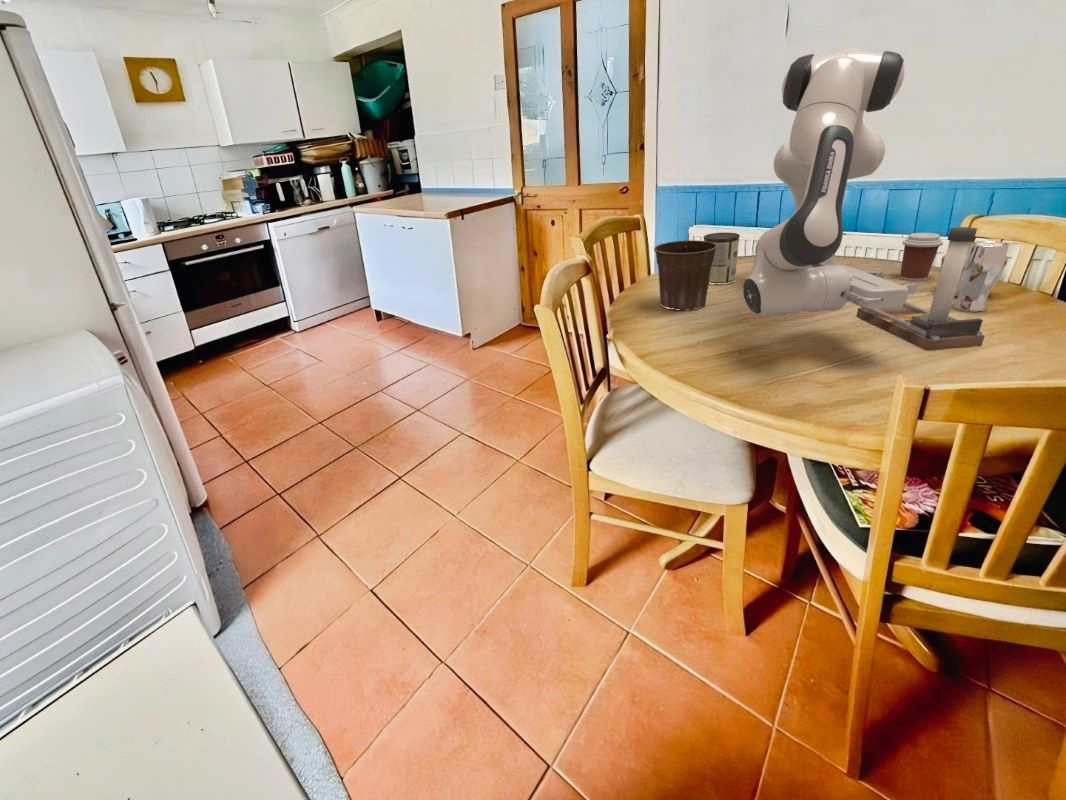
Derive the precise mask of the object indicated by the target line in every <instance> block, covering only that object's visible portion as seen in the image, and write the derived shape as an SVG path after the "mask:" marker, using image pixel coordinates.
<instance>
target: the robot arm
mask: <svg viewBox="0 0 1066 800" xmlns="http://www.w3.org/2000/svg"><path fill="white" fill-rule="evenodd" d="M904 61H905V59H904V58H903V57H902V55H901V54H900V53H897V52H894V51H890V50H889V51H888V50H885V51H884V52H880V51H871V50H864V49H862V48H858V47H850V48H849V47H848V48H845V49H842V50H840V51H838V52H828V53H822V54H814V53H810V54H807V55H803V56H802V55H801V56H800V57H798V58H796V60H794V61H793V62H792V63H791V64H790V67H789V68H788V70H787V72H786V74H785V76H784V79H783V82H782V88H781V95H782V104H783V105H784V106H785V108H786V109H787V110H790V111H793V112H796V113H795V117H794V120H793V123H792V127H791V130H790V137H789V141H787V142H784V143H783V144H782V145H781V146H780V147H779V149H778V150H777V152H776V153H775V155H774V158H773V170H774V171H773V172H775V175H776V177H777V178H778V179H779V180H780V181H781V182H783V183H784V185H786V187H788V189H789V190H790V191H791V194H792V195H793V199H794V204H795V205H794V206H795V212H794V213H793V214H791V216H790V217H789V218H787V219H786V220H784V221H782V222H781V223H779V224H777V225H775V226H773V227H772V228H770V229H768V230H767V231H765V232H764V233H762V235H761V236H760V237H759V239H758V241H757V242H756V245H755V252H754V253H755V258H754V262H753V265H752V269H751V271H750V273H749V275H748V276H747V278H746V279H745V280H744V283H743V286H742V287H743V289H742V290H743V291H742V294H743V299H744V301H745V304H746V306H747V307H748V309H749V310H751V312H753V313H754V314H757V315H762V316H786V315H788V316H789V315H796V314H798V313H800V312H808V313H816V312H817V313H819V312H828V311H829V312H830V311H838V310H840V309H842V308H843V307H844V306H845V305H846V304H847V303H849V302H850V303H851V304H854V305H856V306H858V307H859V308H861V307H863V308H896V307H901V306H903V305H904V304H905V302H906V301H907V299H908V298H907V297H908V295H914V294H916V292H917V290H918V284H916V283H914V282H904V283H903V284H899V283H896V282H894V281H890V280H889V279H886V278H884V277H885V275H886V274H885V273H884V272H881V271H878V270H877V271H865V270H860V269H857V268H855V267H851V266H849V265H845V264H834V258H835V257H834V255H835V254H836V252H838V249H839V248H840V245H841V244H842V241H843V236H844V226H843V214H842V213H843V212H842V210H843V202H844V198H845V197H844V196H845V192H846V187H847V182H848V180H855V179H859V178H863V177H866V176H871V175H872V174H873V173H875V172H876V170H877V169H879V168H880V166H881V164H882V162H883V160H884V158H885V154H886V145H885V143H884V140H883V138H882V137H881V136H880V135H879V134H876V133H874V132H872V131H871V130H869V129H868V128H867V127H866V126H865V124H864V121H863V120H864V119H863V118H864V114H865V112H866V113H871V112H877V111H882V110H884V109H885V108H886V107H887V106H888V105H890V104H891V102H892V101H893V100H894V99H895V97H896V96H897V94H898V93H899V91H900V90H901V87H902V86H903V82H904V79H905V65H904Z"/></svg>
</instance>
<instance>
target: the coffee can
mask: <svg viewBox="0 0 1066 800" xmlns="http://www.w3.org/2000/svg"><path fill="white" fill-rule="evenodd" d="M703 241H708V242H713V243H716V244H717V245H718V247H717V249H716V250H715V255H714V261H713V262H712V265H711V271H710V278H709V282H711V283H728V282H732V281H734V280H735V281H736V273H737V263H738V252H739V241H740V234H738V233H735V232H712V233H708V234H705V235H704V236H703Z"/></svg>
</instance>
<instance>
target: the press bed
mask: <svg viewBox="0 0 1066 800" xmlns="http://www.w3.org/2000/svg"><path fill="white" fill-rule="evenodd" d="M929 312H930V310H927V309H924V308H921V307H918V306H916V305H914V304H911V303H910V302H905V304H904V305H903V306H901V307H896V308H863V307H858V308H857V312H856V317H858V318H860V319H862V320H864V321H866V322H869V323H870V324H872V325H874V326H876V327H879V328H880V329H883V330H884V331H886V332H889V333H891V334H893V335H895V336H897V337H898V338H901V339H903V340H905V341H907V342H909V343H912V344H913V345H916V346H918V347H920V348H921V349H923V350H925V351H933V350H934V351H935V350H944V349H954V347H956V348H964V346H966V347H974V346H973V345H977V346H982V345H983V342H984V339H985V337H986V335H985V334H983V331H981V327H982V325H983V319H982V318H970V319H969V318H968V319H957V321H946V322H936V323H929V325H928V328H927V331H926V330H924V329H922V328H919V327H917V326H915V325H913V324H911V320H912V317H913V316H918V315H929Z"/></svg>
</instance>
